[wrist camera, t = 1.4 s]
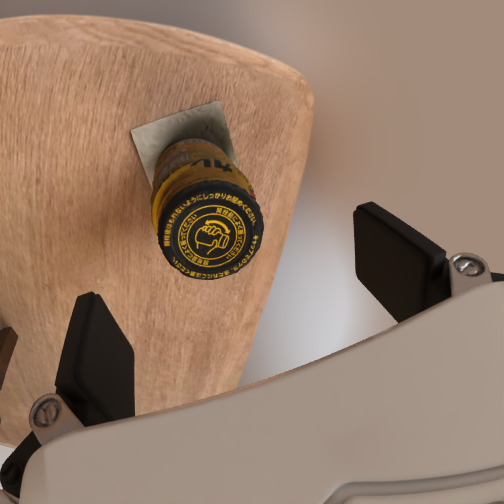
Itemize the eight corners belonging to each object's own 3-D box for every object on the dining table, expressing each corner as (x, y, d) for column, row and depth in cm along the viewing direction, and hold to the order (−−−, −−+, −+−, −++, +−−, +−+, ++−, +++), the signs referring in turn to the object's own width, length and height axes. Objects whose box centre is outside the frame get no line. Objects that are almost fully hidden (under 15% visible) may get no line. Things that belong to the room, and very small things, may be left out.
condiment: (165, 222, 26) (171, 312, 16) (130, 130, 22) (102, 163, 12) (245, 194, 27) (299, 266, 17) (219, 99, 23) (266, 108, 13)
